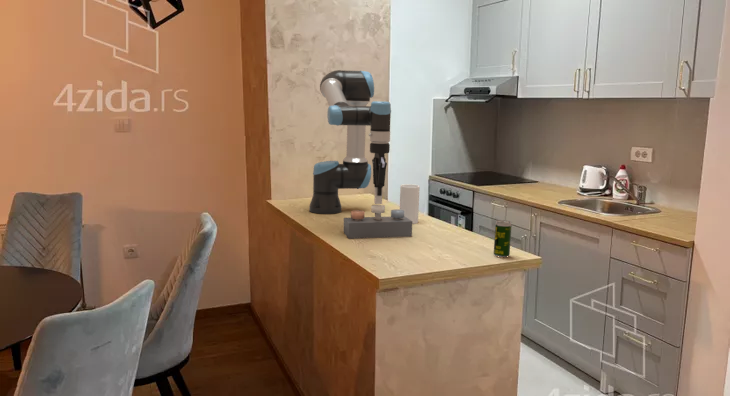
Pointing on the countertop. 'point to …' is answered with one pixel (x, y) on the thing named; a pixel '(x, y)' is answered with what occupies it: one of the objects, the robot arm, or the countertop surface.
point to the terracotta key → (357, 215)
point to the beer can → (502, 238)
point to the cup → (410, 201)
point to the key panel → (377, 227)
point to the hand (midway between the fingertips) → (378, 203)
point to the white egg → (377, 211)
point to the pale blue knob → (397, 214)
